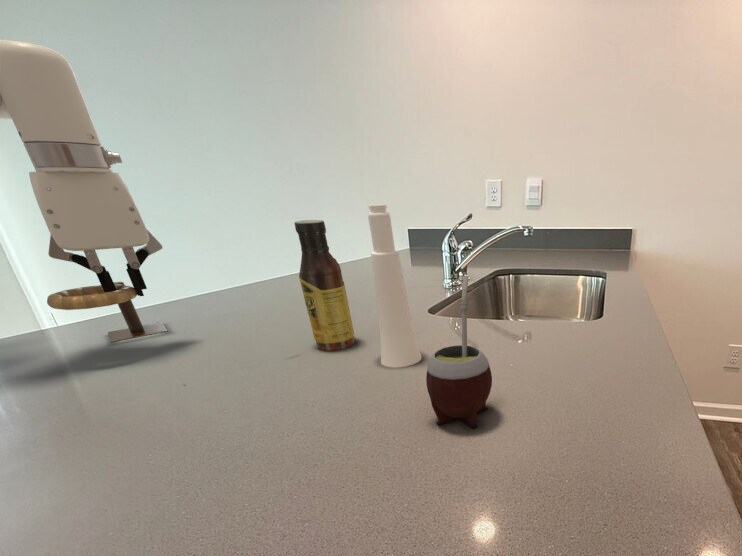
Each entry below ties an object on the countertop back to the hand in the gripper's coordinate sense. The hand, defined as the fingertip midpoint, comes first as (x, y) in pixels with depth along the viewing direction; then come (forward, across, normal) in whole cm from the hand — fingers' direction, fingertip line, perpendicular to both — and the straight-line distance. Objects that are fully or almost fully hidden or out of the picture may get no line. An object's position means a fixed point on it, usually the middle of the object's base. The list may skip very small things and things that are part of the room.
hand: (128, 295), depth 63 cm
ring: (-1, +4, 0) cm, 4 cm away
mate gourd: (+9, -22, +53) cm, 59 cm away
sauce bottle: (+10, -22, +19) cm, 31 cm away
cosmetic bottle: (+9, -27, +33) cm, 44 cm away
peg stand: (+10, 0, -15) cm, 18 cm away
